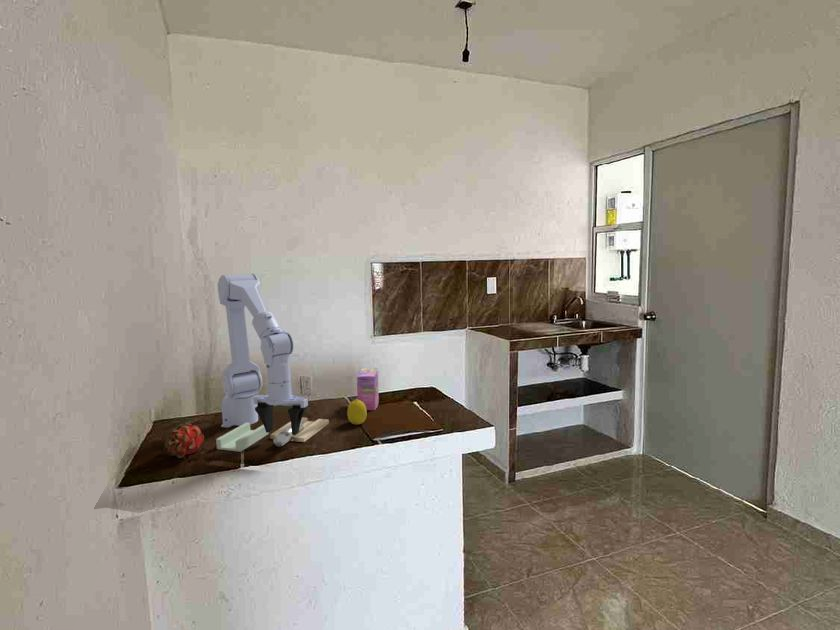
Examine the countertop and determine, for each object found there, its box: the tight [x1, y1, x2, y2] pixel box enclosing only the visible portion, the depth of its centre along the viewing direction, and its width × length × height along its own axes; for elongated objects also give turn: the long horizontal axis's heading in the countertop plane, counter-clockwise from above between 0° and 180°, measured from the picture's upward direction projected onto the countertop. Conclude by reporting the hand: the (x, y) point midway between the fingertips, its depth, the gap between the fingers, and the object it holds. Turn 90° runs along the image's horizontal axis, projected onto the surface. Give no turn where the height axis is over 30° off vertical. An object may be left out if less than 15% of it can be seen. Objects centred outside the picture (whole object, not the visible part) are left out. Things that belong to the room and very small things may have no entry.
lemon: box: [347, 398, 368, 426], centre depth 135 cm, size 6×6×8 cm
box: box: [356, 367, 380, 411], centre depth 150 cm, size 10×6×12 cm, turn 179°
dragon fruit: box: [163, 422, 205, 459], centre depth 118 cm, size 8×8×12 cm
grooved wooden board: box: [269, 416, 330, 443], centre depth 130 cm, size 10×14×2 cm
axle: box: [273, 423, 304, 448], centre depth 124 cm, size 10×3×3 cm, turn 165°
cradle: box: [215, 423, 270, 453], centre depth 123 cm, size 7×12×4 cm, turn 164°
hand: (282, 432), depth 121 cm, fingers open, 7 cm apart
